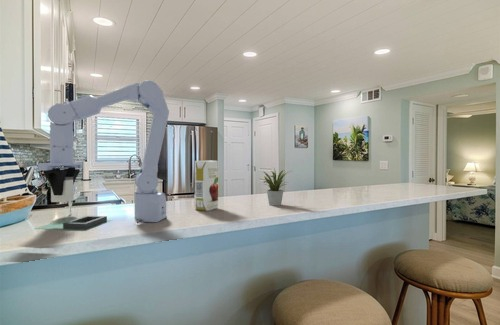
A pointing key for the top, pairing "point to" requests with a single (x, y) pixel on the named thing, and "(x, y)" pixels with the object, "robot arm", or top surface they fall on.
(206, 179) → the juice carton
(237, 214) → the top surface
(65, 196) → the plug
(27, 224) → the top surface
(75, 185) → the wineglass
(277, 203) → the house plant
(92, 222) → the circuit board
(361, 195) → the top surface
